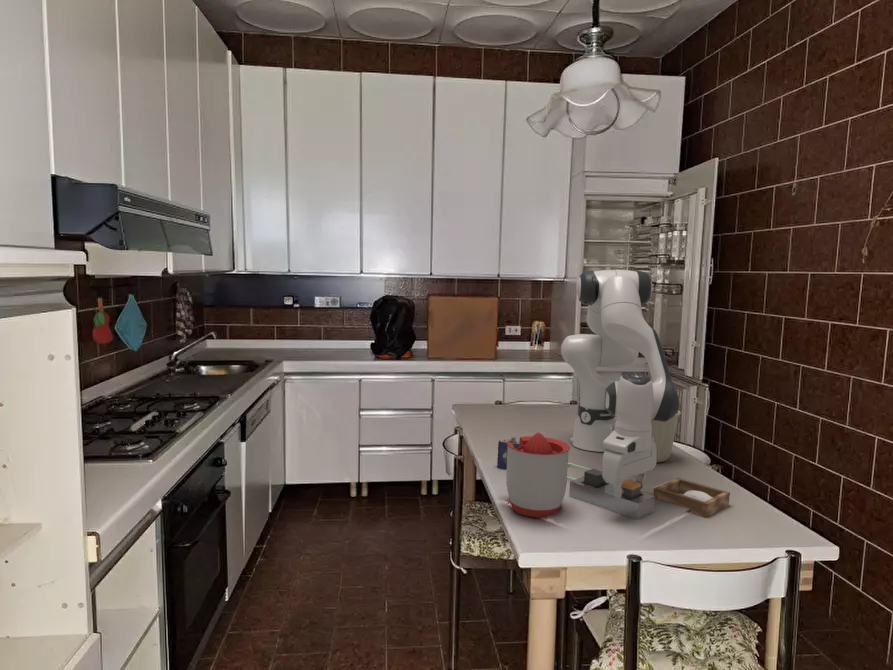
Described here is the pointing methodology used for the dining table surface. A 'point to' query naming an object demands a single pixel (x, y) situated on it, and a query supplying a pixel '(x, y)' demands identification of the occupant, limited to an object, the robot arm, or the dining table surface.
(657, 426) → the canister
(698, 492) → the garlic
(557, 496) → the citrus juicer
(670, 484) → the garlic corral
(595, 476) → the twin plug
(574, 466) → the tray
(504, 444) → the blue box
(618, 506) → the grey socket block
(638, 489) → the plug
